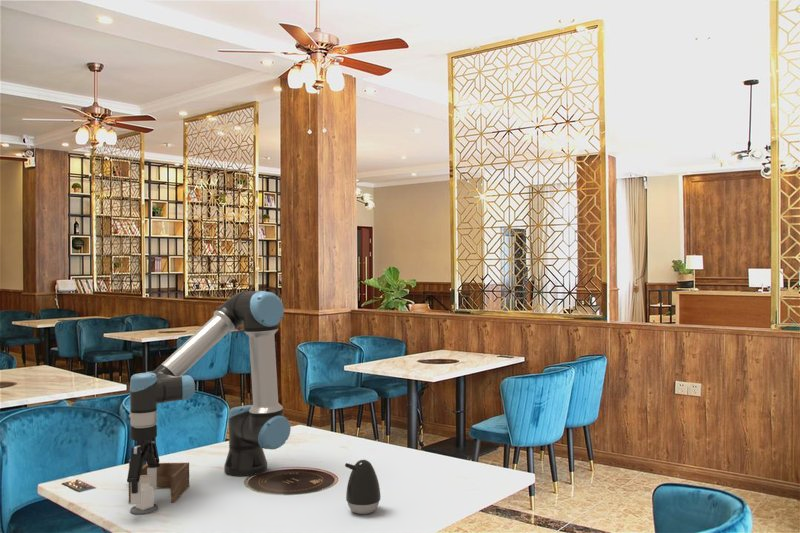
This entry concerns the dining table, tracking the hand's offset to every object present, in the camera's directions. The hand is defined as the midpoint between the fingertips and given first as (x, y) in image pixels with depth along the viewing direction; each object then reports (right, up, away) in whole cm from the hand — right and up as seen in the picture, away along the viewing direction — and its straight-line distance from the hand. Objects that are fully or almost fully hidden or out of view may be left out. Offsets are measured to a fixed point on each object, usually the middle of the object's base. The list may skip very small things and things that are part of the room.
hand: (144, 496), depth 205 cm
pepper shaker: (0, -4, 0) cm, 4 cm away
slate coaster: (0, -4, 0) cm, 4 cm away
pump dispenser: (+66, -4, -3) cm, 66 cm away
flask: (-12, -5, +27) cm, 30 cm away
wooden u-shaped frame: (0, -4, +14) cm, 15 cm away
